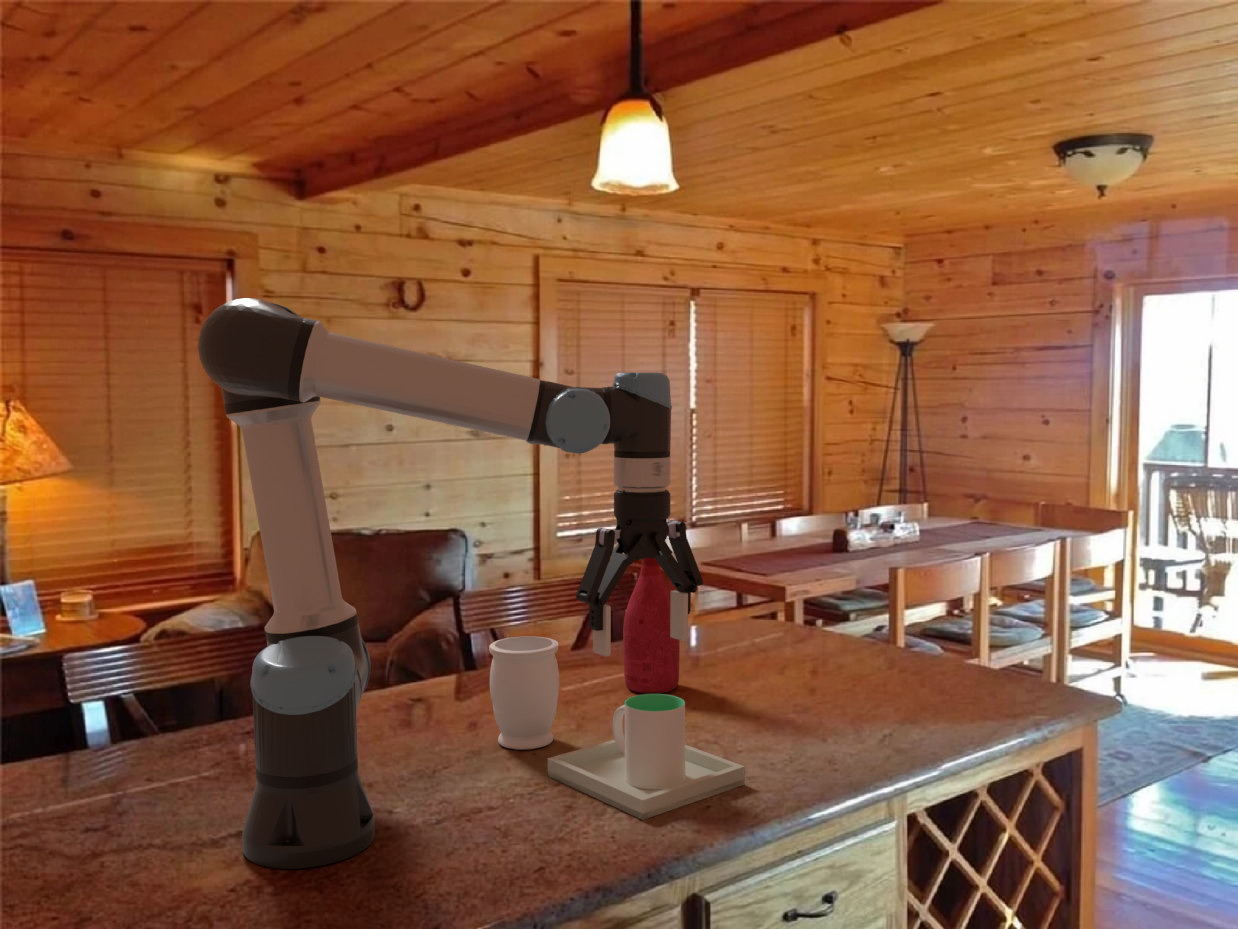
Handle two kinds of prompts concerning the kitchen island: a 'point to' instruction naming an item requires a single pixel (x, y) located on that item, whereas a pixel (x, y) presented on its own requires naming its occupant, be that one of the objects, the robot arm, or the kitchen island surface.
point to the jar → (524, 690)
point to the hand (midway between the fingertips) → (641, 646)
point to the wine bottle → (650, 635)
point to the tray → (605, 781)
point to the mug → (652, 740)
